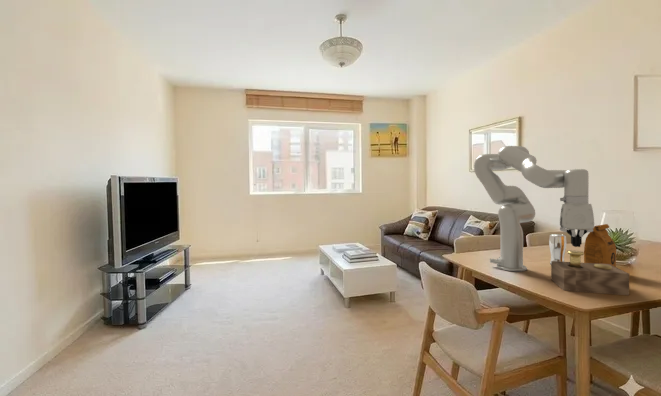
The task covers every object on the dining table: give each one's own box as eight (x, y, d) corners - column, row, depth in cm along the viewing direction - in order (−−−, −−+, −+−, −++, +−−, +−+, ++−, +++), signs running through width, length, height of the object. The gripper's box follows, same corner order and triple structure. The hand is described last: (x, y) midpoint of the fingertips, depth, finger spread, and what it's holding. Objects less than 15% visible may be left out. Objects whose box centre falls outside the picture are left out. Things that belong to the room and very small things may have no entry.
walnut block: (563, 290, 119) (564, 267, 119) (551, 279, 132) (551, 259, 132) (628, 295, 113) (629, 271, 112) (608, 283, 126) (609, 262, 125)
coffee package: (621, 273, 138) (622, 224, 137) (605, 277, 133) (606, 227, 132) (594, 268, 148) (595, 222, 147) (579, 271, 143) (580, 224, 142)
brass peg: (569, 271, 122) (570, 252, 122) (564, 268, 127) (564, 250, 126) (585, 272, 120) (586, 253, 120) (579, 269, 125) (580, 250, 125)
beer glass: (565, 263, 156) (565, 234, 156) (566, 267, 150) (567, 236, 150) (548, 262, 160) (548, 233, 159) (549, 265, 154) (549, 235, 153)
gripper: (557, 201, 121) (557, 247, 122) (604, 200, 116) (604, 248, 117) (550, 200, 128) (550, 244, 129) (594, 199, 123) (594, 245, 124)
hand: (576, 246), depth 123 cm, fingers closed
